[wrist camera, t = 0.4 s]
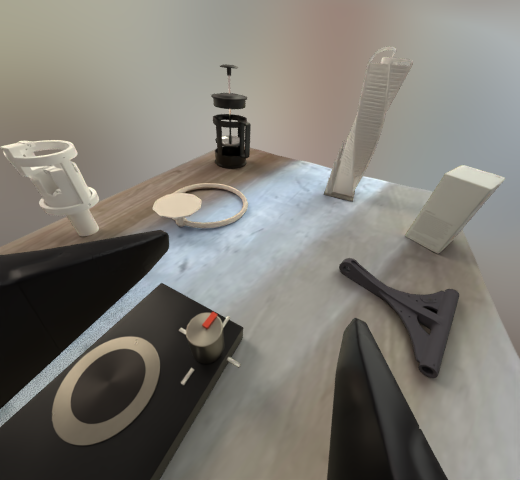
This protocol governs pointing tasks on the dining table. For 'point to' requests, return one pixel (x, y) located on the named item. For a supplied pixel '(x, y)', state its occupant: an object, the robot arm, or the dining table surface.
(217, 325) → the burner knob
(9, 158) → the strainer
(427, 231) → the small box
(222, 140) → the french press
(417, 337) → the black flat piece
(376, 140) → the skyscraper
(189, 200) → the hand towel holder
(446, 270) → the dining table surface
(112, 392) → the burner
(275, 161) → the dining table surface
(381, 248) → the dining table surface
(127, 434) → the stove
